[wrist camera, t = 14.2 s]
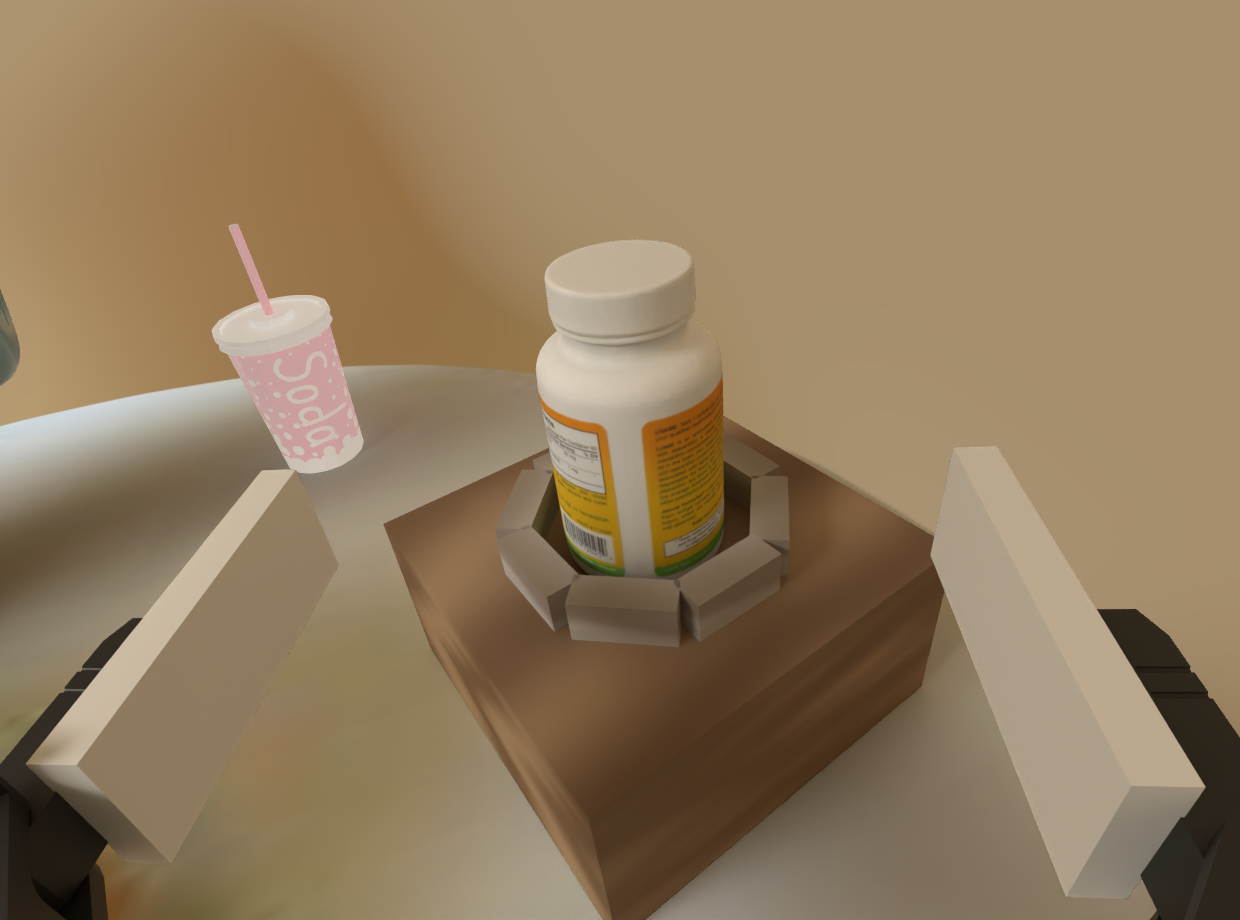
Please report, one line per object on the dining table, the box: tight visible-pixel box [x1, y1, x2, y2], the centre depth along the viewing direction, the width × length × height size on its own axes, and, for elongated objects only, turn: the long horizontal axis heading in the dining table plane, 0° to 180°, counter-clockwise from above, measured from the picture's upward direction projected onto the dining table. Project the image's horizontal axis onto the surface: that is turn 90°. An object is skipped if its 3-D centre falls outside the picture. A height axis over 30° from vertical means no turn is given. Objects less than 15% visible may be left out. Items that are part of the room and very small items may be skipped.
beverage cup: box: [212, 224, 364, 473], centre depth 40 cm, size 6×6×14 cm
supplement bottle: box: [536, 240, 724, 580], centre depth 22 cm, size 5×5×10 cm
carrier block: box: [384, 416, 944, 920], centre depth 26 cm, size 14×14×8 cm
